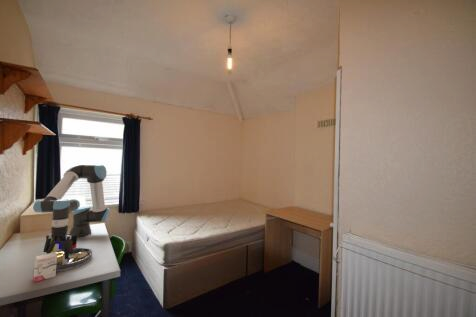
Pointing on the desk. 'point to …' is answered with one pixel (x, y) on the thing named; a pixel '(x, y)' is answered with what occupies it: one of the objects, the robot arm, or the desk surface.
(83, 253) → the carrier
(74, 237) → the puzzle toy
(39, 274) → the ink box
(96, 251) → the desk surface
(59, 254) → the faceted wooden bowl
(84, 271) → the desk surface
